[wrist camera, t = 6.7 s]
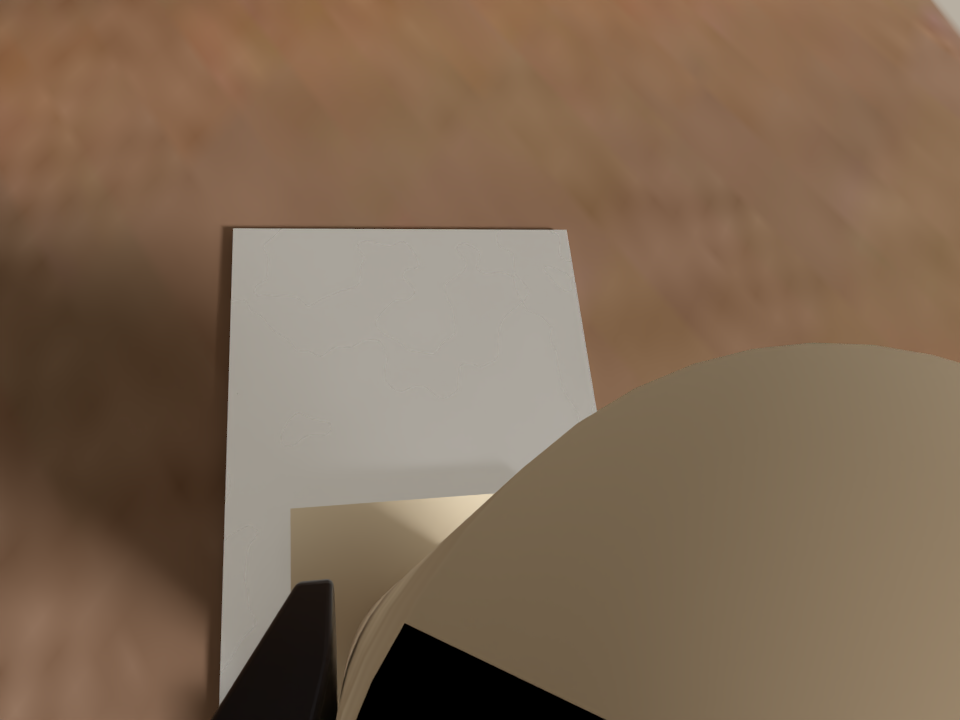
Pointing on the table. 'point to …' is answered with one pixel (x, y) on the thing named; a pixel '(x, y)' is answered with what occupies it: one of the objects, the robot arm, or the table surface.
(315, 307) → the grey rectangular plate
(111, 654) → the table surface
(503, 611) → the beige peg stand
